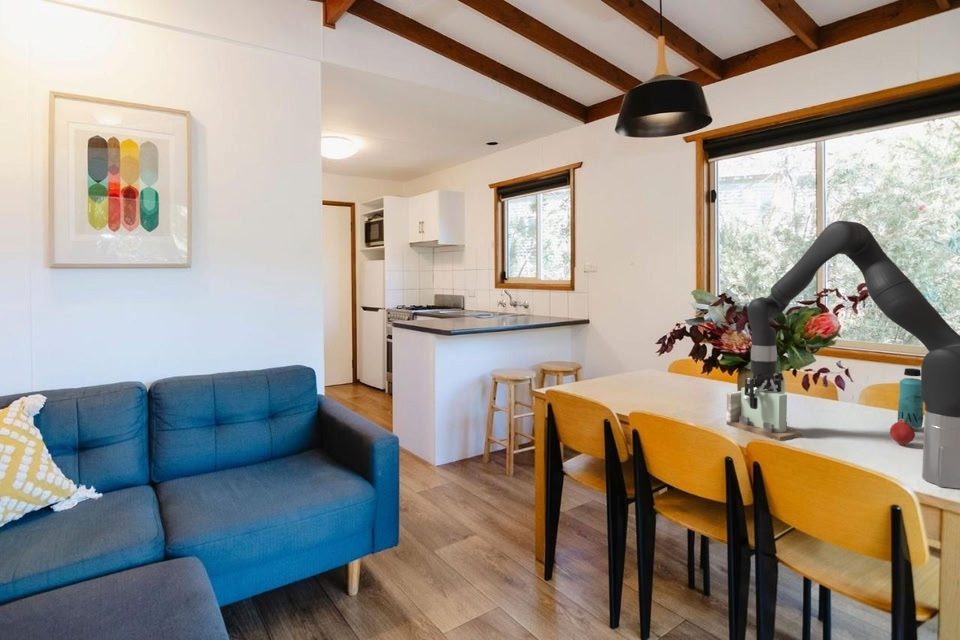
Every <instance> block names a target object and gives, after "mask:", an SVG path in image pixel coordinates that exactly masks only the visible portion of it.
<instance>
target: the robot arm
mask: <svg viewBox="0 0 960 640" xmlns="http://www.w3.org/2000/svg"><path fill="white" fill-rule="evenodd" d="M838 255H844V256H846V257H847V258H848V259H850V260H851V261H852V262H853V263H854V265H855V266H856V267H857V268H858V270H859V271H860V272H861V274H862V276H863V279H864V282H865V287H866V290H867V293H868V294H869V296H870V298H871V299H872V301H873V302H874V303H875V305H876V306H877V307H878V308H879V309H880V311H881V312H882V313H883V314H884V315H885V316H886V317H887V318H888V319H889V320H890V321H891V322H893V323H895V324H896V325H898V326H899V327H900V328H902V329H903V330H905V331H907V332H908V333H909V334H911V335H912V336H914V337H915V338H916V339H917V340H919V341H920V342H921V343H922V344H923V345H924V347H925V348H926V350H927V351H928V353H926V354H925V356H924V357H923V359H922V362H921V367H920V368H921V369H920V372H921V376H920V380H921V394H922V399H923V401H924V402H923V404H924V420H923V425H924V426H923V445H922V446H923V447H922V472H921V473H922V474H921V477H922V479H923V480H925V481H926V482H929V483H932V484H934V485H937V486H938V487H941V488H942V487H943V488H951V489H959V490H960V334H959V333H957V331H956V330H954V328H953V327H951V325H950V324H948V323H947V321H946V320H945V319H944V318H943V316H941V314H940V313H939V312H938V311H937V309H936V308H935V307H934V306H933V305H932V304H931V303H930V302H929V300H928V299H927V298H926V297H925V296H924V295H923V293H922V292H921V291H920V290H919V289H918V287H916V285H915V284H914V283H913V282H912V281H911V280H910V279H909V278H908V277H907V276H906V275H905V273H904V272H903V271H902V270H901V269H900V268H899V267H898V266H897V264H896V263H895V262H894V261H893V260H892V259H891V258H890V257H889V256H888V255H887V253H885V251H884V250H883V248H882V247H881V246H880V244H879V242H878V241H877V240H876V238H875V237H874V235H873V234H872V231H870V230H869V228H868V227H867V226H866V225H864V224H862V223H859V222H857V221H848V220H836V221H834V222H831V223H830V224H829V225H827V226H826V227H825V228H824V229H823V231H822V232H821V233H820V234H818V236H817V237H816V239H815V240H814V242H813V243H812V244H811V245H810V246H809V248H808V249H807V250H806V251H805V253H804V254H803V255H802V256H801V257H800V259H799V260H798V261H797V262H796V263H795V264H794V265H793V266H792V267H791V268H790V270H788V271H787V272H786V273H785V274H783V276H781V277H780V279H778V280H777V281H776V282H775V283H774V284H773V285H772V287H771V289H770V295H768V296H767V297H760V298H754V299H752V300H751V301H750V302H749V304H748V307H747V311H746V312H747V318H748V322H749V326H750V329H751V350H750V372H751V373H752V377H745V379H744V387H745V393H744V394H745V395H746V396H749V397H750V408H752V409H757V406H758V398H757V396H758V395H759V393H760V392H762V390H768V391H772V392H777V393H781V392H782V375H781V374H778V373H777V371H778V370H777V367H778V366H777V365H778V351H777V350H778V349H777V331H776V328H774V327H772V326H771V325H770V320H773V319H775V318H777V317H779V316H781V314H783V312H784V311H785V310H786V308H787V307H788V306H789V305H790V303H791V302H792V300H794V299H795V298H796V297H798V296H799V295H800V294H801V293H802V292H803V291H804V290H805V289H807V287H808V286H809V285H810V284H811V282H812V281H813V279H814V278H815V275H816V273H817V272H818V271H819V270H820V268H821V267H822V266H823V265H825V263H827V262H828V261H829V260H831V259H832V258H834V257H835V256H838ZM749 389H750V392H748V390H749ZM754 392H755V394H754Z"/></svg>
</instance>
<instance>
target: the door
mask: <svg viewBox="0 0 960 640" xmlns="http://www.w3.org/2000/svg"><path fill="white" fill-rule="evenodd" d="M740 391H741V416H745V417H748V418H749V424H750V425H753V426H757V427H760V428H763V422H767V423H770V424H774V432H778V433H780V432H785V431H786V422H787V410H788V409H787V406H788V394H787V393H781V392H778V393H777V392H772V391H768V390H767V389H764V390H762V392H760V393H759V395H758V396H757V398H758V406H757V409H752V408H750V397H749V396H746V395H745V394H744V393H745V386H744V387H741V390H740ZM748 392H750V389H749V390H748ZM754 394H755V392H754Z"/></svg>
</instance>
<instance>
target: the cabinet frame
mask: <svg viewBox="0 0 960 640" xmlns="http://www.w3.org/2000/svg"><path fill="white" fill-rule="evenodd" d="M726 425H727V426H729V427H730V426H731V427H733V428H737V429H739V430H744V431H747V432H750V433H753V434H757V435H760V436H763V437H766V438H769V437H770V439H773V438H774V439H773V440H777V441H785V440H789V439H794V438H798V437H802V435H803V433H802V431H798V430H796V429H795V430H794V429H792V428H791V429H790V428H788V422H787V421H786V431H785V432H780V433H778V432H774V424H770V423H767V422H763V428H760V427H757V426H753V425H750V424H749V418H748V417H745V416H741V390H737V391H730V392H726Z"/></svg>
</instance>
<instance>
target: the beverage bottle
mask: <svg viewBox="0 0 960 640" xmlns="http://www.w3.org/2000/svg"><path fill="white" fill-rule="evenodd" d="M903 375H904V376H907V378H906V377H904V378H902V379H901V380H899V393H898V407H897V422H899V421H900V420H901V419H904V420H905V421H906V422H907V423H908V424H909V425H911V426H912V427H913V428H914V429H916V428H922V427H923V423H924V416H925V411H924V401H923V399H922V394H921V378H920V379H919V378H913V377H921V369H919V368H910V367H908V368H905V369H904V373H903ZM909 377H910V378H909ZM897 422H896V423H897Z"/></svg>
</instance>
